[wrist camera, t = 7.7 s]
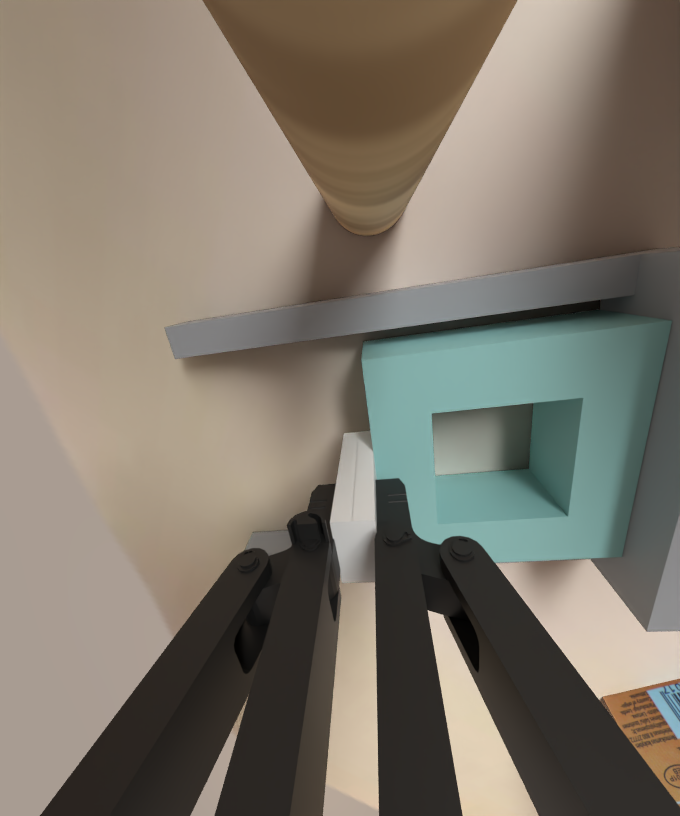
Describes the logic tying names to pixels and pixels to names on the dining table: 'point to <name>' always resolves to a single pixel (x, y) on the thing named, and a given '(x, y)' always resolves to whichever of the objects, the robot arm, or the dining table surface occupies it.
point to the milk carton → (653, 728)
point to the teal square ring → (550, 434)
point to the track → (502, 293)
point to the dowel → (363, 87)
